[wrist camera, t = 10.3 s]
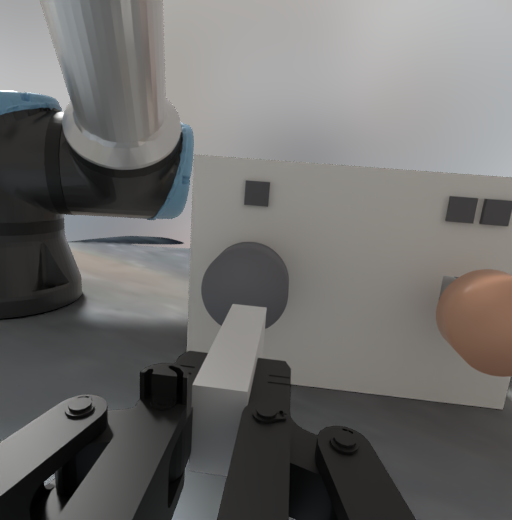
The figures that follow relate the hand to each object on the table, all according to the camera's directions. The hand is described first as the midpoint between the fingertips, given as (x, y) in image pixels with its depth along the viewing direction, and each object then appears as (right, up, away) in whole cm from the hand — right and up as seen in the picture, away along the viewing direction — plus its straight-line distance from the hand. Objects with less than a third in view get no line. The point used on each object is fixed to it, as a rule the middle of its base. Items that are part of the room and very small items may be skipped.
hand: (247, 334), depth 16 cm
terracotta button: (+15, -3, +11) cm, 19 cm away
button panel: (+8, -7, +18) cm, 21 cm away
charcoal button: (0, -1, +14) cm, 14 cm away
